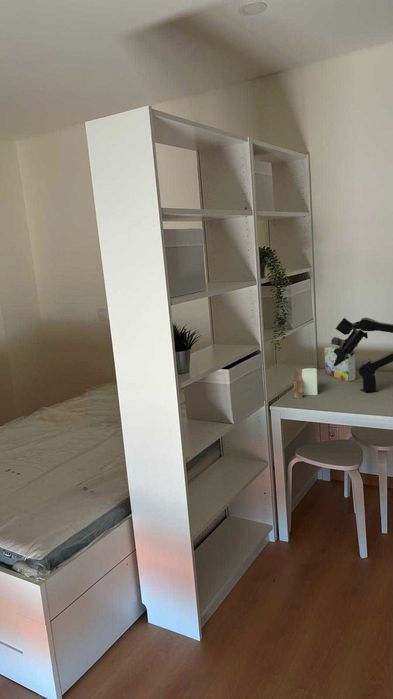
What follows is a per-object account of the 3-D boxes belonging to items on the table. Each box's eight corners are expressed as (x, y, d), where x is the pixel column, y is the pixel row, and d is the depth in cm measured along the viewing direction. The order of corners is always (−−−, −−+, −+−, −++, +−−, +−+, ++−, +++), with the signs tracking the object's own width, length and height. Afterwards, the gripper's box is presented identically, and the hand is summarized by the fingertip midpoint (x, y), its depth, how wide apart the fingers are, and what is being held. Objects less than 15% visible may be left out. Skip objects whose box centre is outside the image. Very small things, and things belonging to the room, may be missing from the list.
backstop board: (303, 386, 279) (302, 369, 277) (302, 398, 260) (302, 380, 258) (295, 386, 280) (294, 370, 278) (294, 398, 261) (293, 380, 259)
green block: (317, 389, 273) (316, 368, 271) (317, 394, 263) (316, 373, 261) (303, 389, 274) (302, 368, 272) (302, 395, 265) (301, 373, 263)
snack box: (324, 373, 301) (323, 347, 298) (333, 372, 302) (332, 346, 299) (347, 382, 281) (346, 354, 278) (356, 380, 283) (356, 352, 280)
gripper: (344, 329, 271) (326, 354, 277) (334, 331, 255) (315, 357, 260) (362, 342, 267) (344, 367, 273) (353, 345, 251) (334, 371, 256)
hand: (334, 365), depth 266 cm, fingers closed
